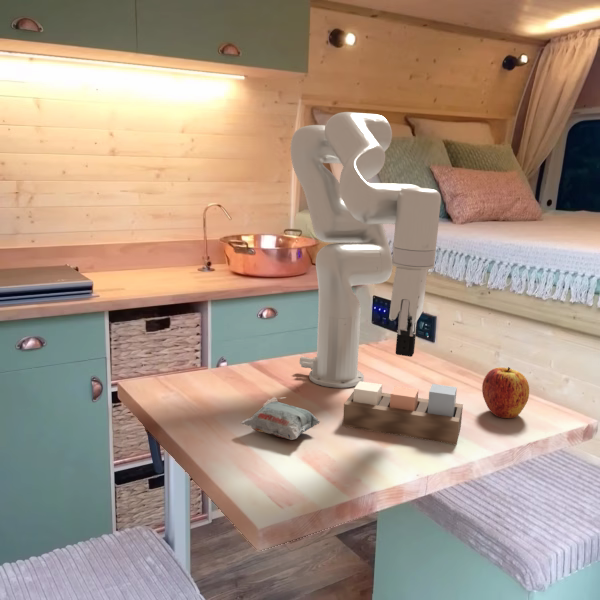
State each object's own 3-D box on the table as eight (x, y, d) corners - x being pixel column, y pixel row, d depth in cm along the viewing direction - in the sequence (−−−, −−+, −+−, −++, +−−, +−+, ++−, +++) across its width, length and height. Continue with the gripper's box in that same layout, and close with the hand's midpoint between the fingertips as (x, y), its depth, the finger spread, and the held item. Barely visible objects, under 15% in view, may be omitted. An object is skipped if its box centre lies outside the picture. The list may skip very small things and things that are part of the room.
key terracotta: (388, 419, 115) (390, 393, 114) (393, 410, 119) (395, 386, 118) (413, 423, 114) (414, 397, 113) (416, 414, 118) (418, 389, 117)
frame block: (342, 426, 116) (343, 404, 115) (354, 409, 125) (355, 388, 124) (456, 445, 110) (458, 421, 109) (460, 426, 118) (462, 404, 117)
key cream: (352, 413, 117) (354, 388, 116) (358, 405, 122) (359, 381, 121) (375, 417, 116) (377, 392, 115) (380, 408, 120) (382, 384, 119)
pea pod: (269, 397, 131) (269, 390, 131) (289, 400, 130) (289, 393, 130) (248, 425, 117) (248, 417, 116) (271, 428, 116) (271, 420, 115)
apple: (470, 409, 127) (474, 362, 125) (504, 404, 130) (509, 358, 128) (500, 426, 119) (505, 377, 116) (536, 420, 122) (542, 372, 120)
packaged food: (296, 450, 105) (298, 423, 104) (239, 432, 111) (240, 407, 110) (320, 433, 113) (321, 407, 112) (265, 417, 118) (266, 393, 117)
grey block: (427, 417, 113) (429, 391, 112) (430, 408, 117) (432, 383, 116) (452, 421, 111) (454, 395, 110) (454, 412, 115) (456, 387, 114)
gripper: (400, 249, 118) (392, 340, 123) (384, 262, 105) (376, 363, 109) (439, 253, 116) (430, 345, 121) (429, 267, 102) (418, 370, 107)
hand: (404, 354), depth 115 cm, fingers closed
